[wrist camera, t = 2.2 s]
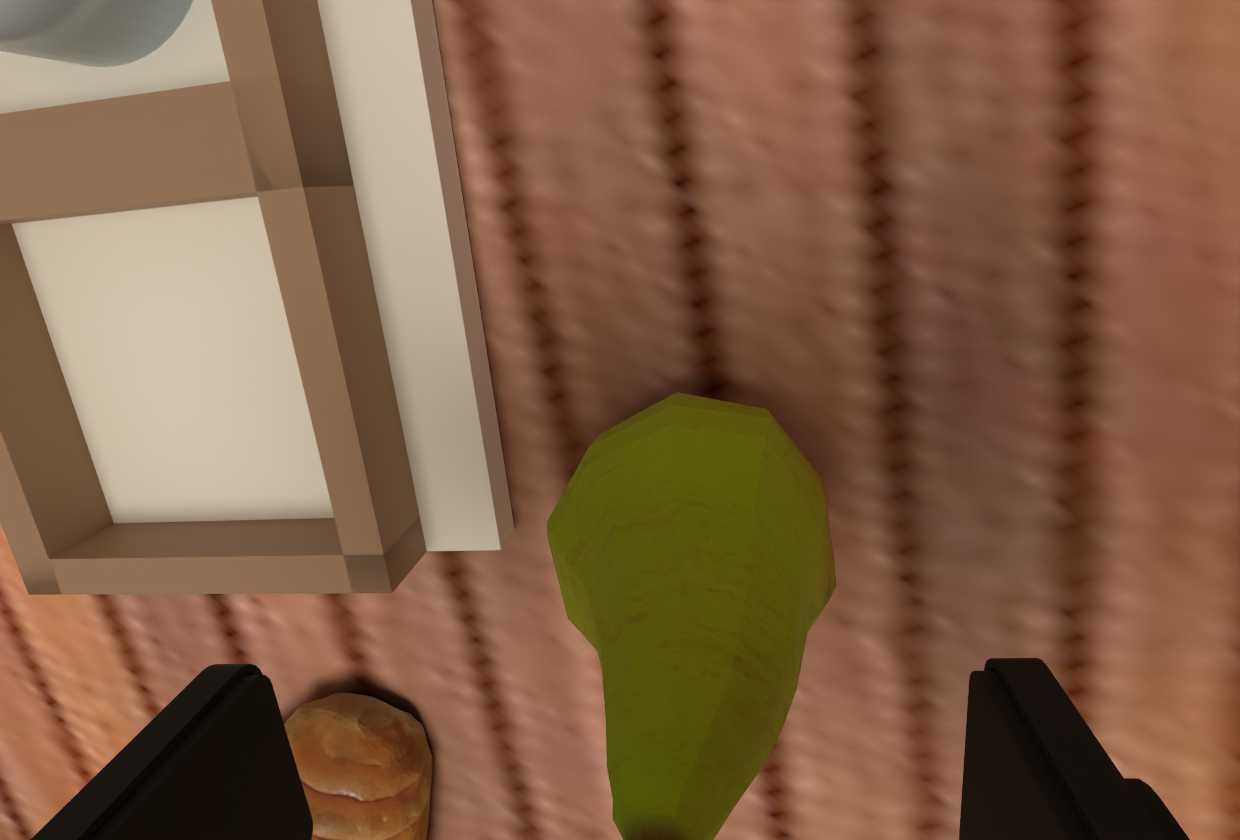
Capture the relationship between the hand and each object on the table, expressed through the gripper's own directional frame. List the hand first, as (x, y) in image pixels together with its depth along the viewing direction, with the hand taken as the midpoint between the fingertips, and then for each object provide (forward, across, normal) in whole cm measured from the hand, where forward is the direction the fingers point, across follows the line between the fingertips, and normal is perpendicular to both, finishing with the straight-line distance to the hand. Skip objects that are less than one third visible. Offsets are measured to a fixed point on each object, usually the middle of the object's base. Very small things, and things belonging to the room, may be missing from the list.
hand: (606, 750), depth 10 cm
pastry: (+10, +12, +11) cm, 19 cm away
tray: (+10, +11, -9) cm, 17 cm away
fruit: (+10, -1, 0) cm, 10 cm away
